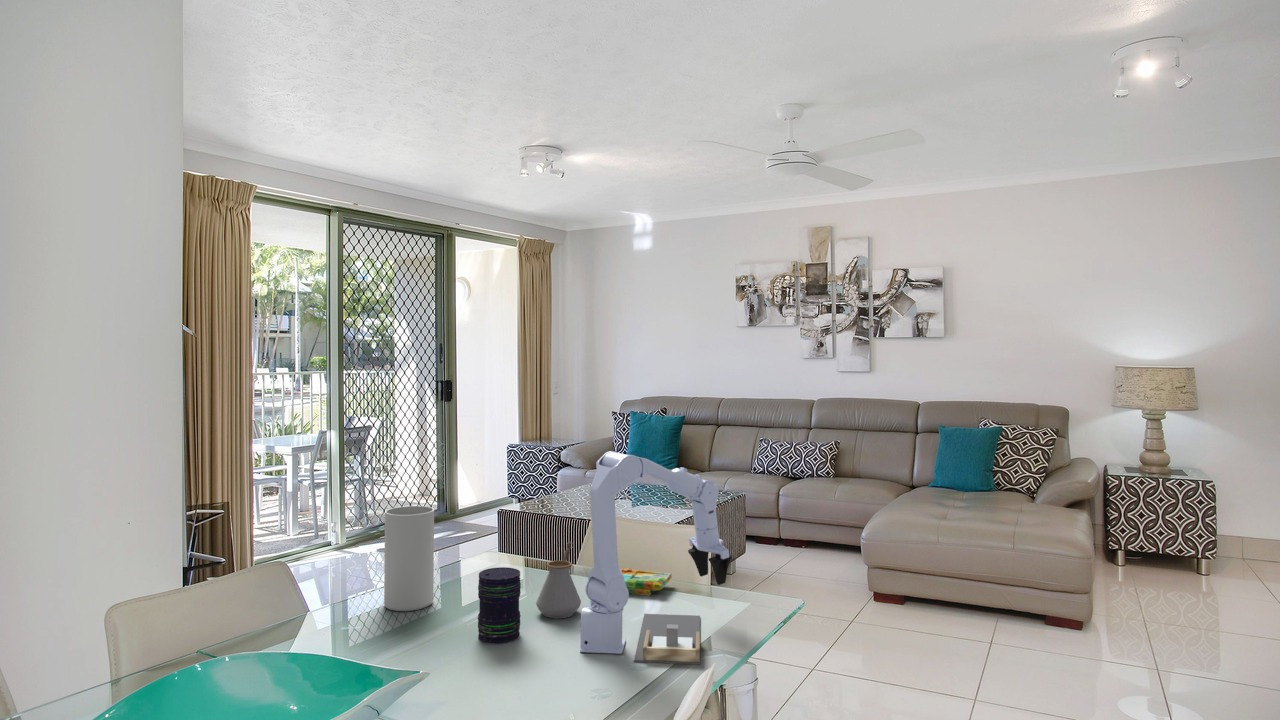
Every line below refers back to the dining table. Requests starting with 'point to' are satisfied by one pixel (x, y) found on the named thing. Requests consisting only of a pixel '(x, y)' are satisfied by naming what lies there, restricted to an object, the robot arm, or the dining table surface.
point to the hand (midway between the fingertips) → (712, 579)
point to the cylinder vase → (409, 558)
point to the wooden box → (671, 651)
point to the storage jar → (499, 605)
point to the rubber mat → (659, 628)
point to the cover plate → (680, 639)
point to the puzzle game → (644, 581)
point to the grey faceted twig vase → (559, 590)
